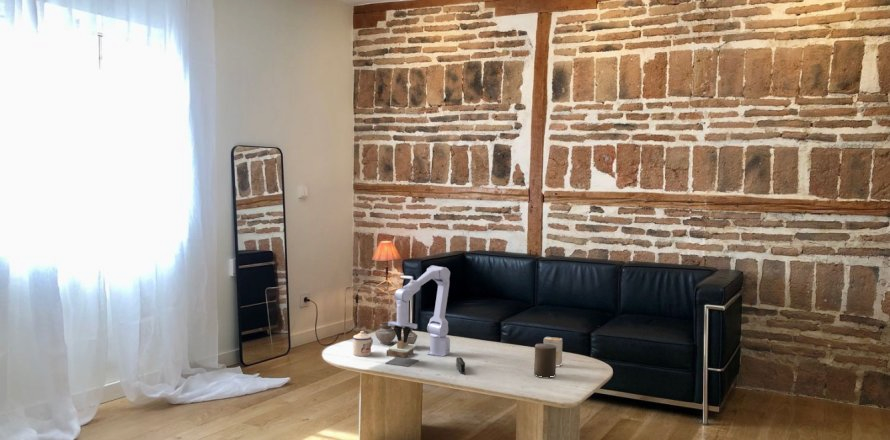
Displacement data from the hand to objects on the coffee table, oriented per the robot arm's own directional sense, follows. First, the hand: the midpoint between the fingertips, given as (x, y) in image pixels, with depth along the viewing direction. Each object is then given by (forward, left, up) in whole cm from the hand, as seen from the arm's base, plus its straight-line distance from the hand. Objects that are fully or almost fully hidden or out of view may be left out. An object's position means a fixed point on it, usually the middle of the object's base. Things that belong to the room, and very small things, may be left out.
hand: (402, 342), depth 356 cm
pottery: (+17, -28, -10) cm, 34 cm away
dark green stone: (-31, +1, -10) cm, 32 cm away
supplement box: (-67, -26, -10) cm, 73 cm away
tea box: (+7, -12, -10) cm, 17 cm away
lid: (0, 0, -3) cm, 3 cm away
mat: (0, 0, -10) cm, 10 cm away
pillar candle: (-68, -8, -10) cm, 69 cm away
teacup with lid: (+24, -6, -10) cm, 27 cm away
